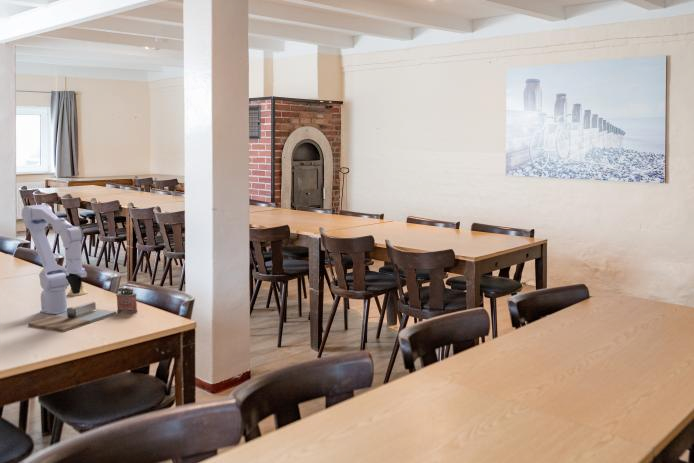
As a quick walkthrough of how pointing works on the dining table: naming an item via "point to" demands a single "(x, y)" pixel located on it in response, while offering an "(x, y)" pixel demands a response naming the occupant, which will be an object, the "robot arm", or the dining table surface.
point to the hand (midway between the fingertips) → (76, 293)
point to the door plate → (91, 315)
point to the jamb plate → (58, 323)
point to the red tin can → (126, 301)
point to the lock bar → (80, 309)
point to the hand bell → (82, 292)
